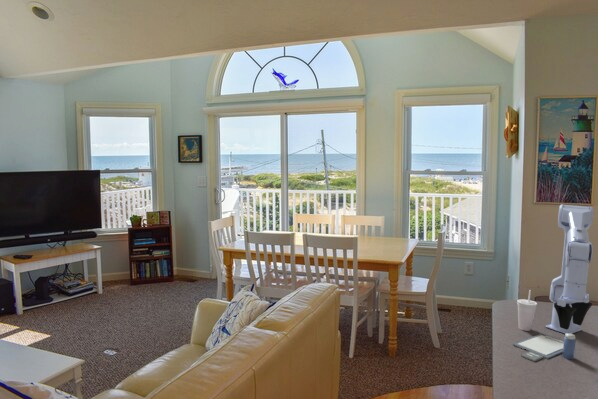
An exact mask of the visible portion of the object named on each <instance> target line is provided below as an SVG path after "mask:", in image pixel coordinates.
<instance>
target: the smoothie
mask: <svg viewBox="0 0 598 399" xmlns="http://www.w3.org/2000/svg"><path fill="white" fill-rule="evenodd" d="M531 291H532V290H531V289H529V290H528V298H527V299H526V298H519V299H517V300H516V304H517V320H518V321H517V322H518V323H517V324H518V329H519V330H522V331H527V332H528V331H531V329H532V324H533V321H534V316H535V313H536V308H537V307H538V303H537V302H536V301H534V300H531V295H532V294H531V293H532V292H531Z"/></svg>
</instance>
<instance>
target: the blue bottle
mask: <svg viewBox="0 0 598 399" xmlns="http://www.w3.org/2000/svg"><path fill="white" fill-rule="evenodd" d="M576 340H577V339H576V335H575V334H574V333H572V334H570V333H566V334H565V333H564V336H563V341H564V344H563V353H561V354H562V358H564V359H566V360H574V359H575V350H576Z"/></svg>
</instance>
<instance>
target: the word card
mask: <svg viewBox="0 0 598 399" xmlns="http://www.w3.org/2000/svg"><path fill="white" fill-rule="evenodd" d="M520 356H521V357H522V358H525V359H527V360H529V361H530V362H537V361H540V360H542V359H544V357H543V356H541V355H539V354H536V353H534V352H531V351H530V352H529V351H526V352H525V353H522V354H521V355H520Z"/></svg>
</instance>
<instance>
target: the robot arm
mask: <svg viewBox="0 0 598 399" xmlns="http://www.w3.org/2000/svg"><path fill="white" fill-rule="evenodd" d="M557 216H558V217H557V225H558V226H557V227H558V228H560V229H562V230H563V232H564V242H563V251H562V252H563V253H562V261H561V262H562V264H561V273H560V275H559V276H557V277H555V278H553V279H552V280H551V285H550V290H549V300H550V302H552V312H551V313H552V314H551V322H550V324H547V325H545V327H546V328H548V329H551V330H554V331H556V332H559V333H562V334H564V335H565V334H566V333H570V334H574V333H577V332H580V331H582V330H583V329H582V328H581V327H580V326H582V324H583V322H584V320H585V317H586V314H588V311H589V310H590V308H592V306H593V303H592V302H590V294H589V293H587V284H588V277H589V266H590V264H589V263H591V262H592V259H593V250H594V249H593V244H592V242H590V237H589V235H590V234H589V232H588V230H589V228H590V227H591V225H592V223H593V221H594V220H593V219H594V208H593V206H585V205H584V206H583V205H571V204H563V203H561V204H560V205H559V206H558V215H557Z"/></svg>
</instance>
